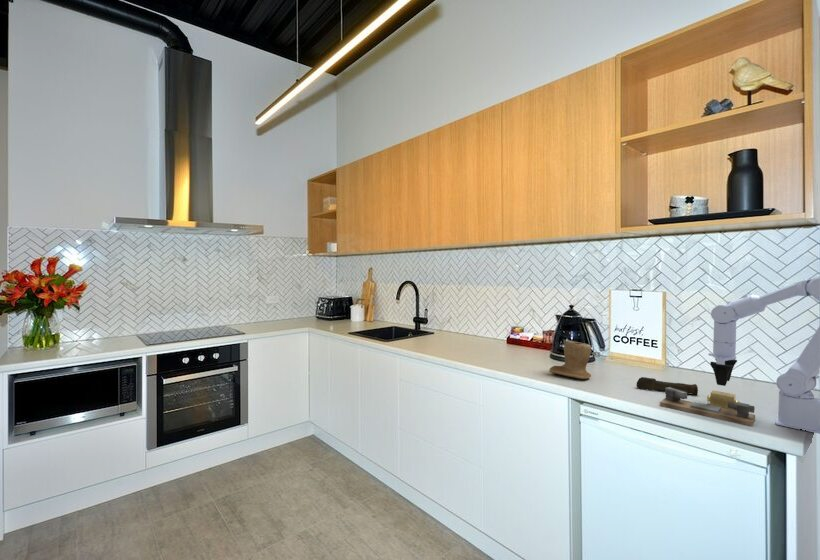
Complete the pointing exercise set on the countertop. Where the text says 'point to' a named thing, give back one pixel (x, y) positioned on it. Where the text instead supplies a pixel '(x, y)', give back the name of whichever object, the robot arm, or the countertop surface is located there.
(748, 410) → the shaft stand
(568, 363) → the brown flared stand
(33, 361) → the countertop surface
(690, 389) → the hand tool
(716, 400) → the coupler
